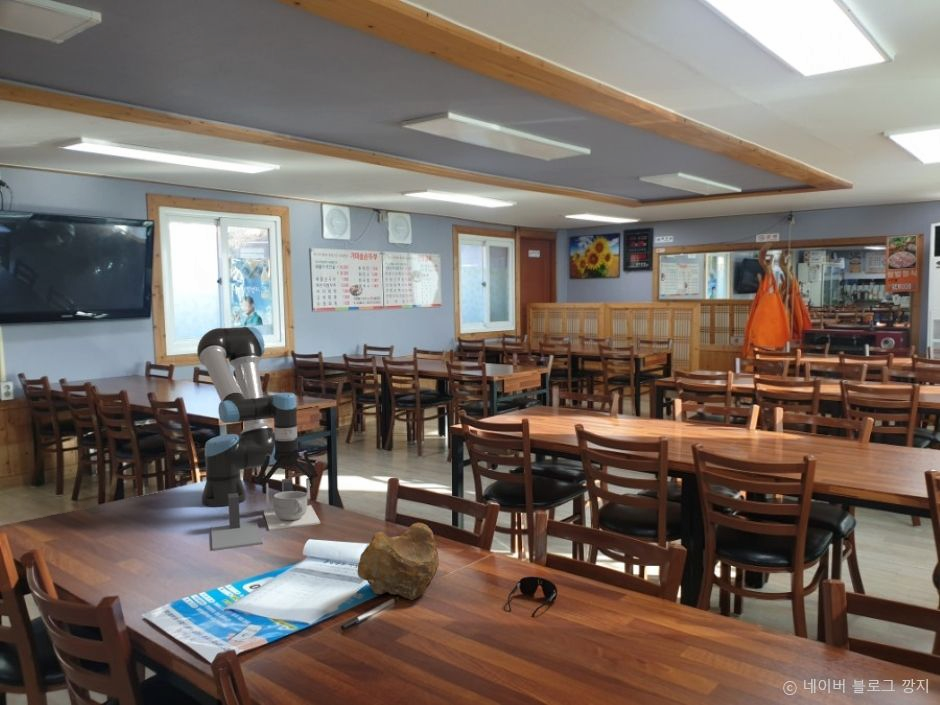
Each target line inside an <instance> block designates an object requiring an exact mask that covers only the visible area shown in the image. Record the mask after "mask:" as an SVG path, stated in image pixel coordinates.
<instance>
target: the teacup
mask: <svg viewBox="0 0 940 705" xmlns="http://www.w3.org/2000/svg"><path fill="white" fill-rule="evenodd" d="M307 496H308V494H307V492H304V491H300V490H299V491H298V490H296V491H295V490H293V491H286V492H282V491H281V492H277V493H275V494H274V495H273V506H274V507H273V508H274V509H273V510H275V514H276V515H277V516H278V517H279V518H280V519H282V520H296V519H299V518H301V517H302V516H303V515H304V514H305V513H306V510H307V505H308V498H307Z"/></svg>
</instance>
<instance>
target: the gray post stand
mask: <svg viewBox="0 0 940 705" xmlns="http://www.w3.org/2000/svg"><path fill="white" fill-rule="evenodd" d="M227 506H228V524H229V525H221V526H214V527H210V530H211V533H210V534H211V547H212V551H218V550H226V549H227V550H228V549H233V548H234V549H235V548H241V547H248V546H250V547H251V546H256V545H263V539H262V535H261V532H260V528H259V524H258V521H253V522H244V523H241V521H240V503H239V496H238V493H232V494H228V505H227Z"/></svg>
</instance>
